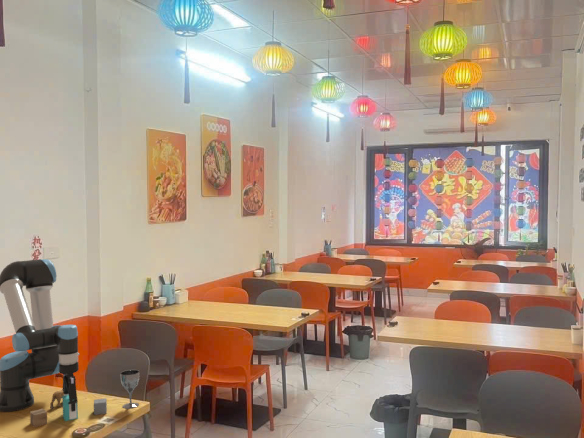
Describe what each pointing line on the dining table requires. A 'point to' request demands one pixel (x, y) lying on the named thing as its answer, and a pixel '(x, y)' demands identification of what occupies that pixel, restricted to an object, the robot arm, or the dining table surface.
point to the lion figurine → (57, 396)
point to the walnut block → (38, 417)
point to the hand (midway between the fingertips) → (70, 413)
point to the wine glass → (130, 385)
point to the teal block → (67, 408)
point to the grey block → (100, 406)
